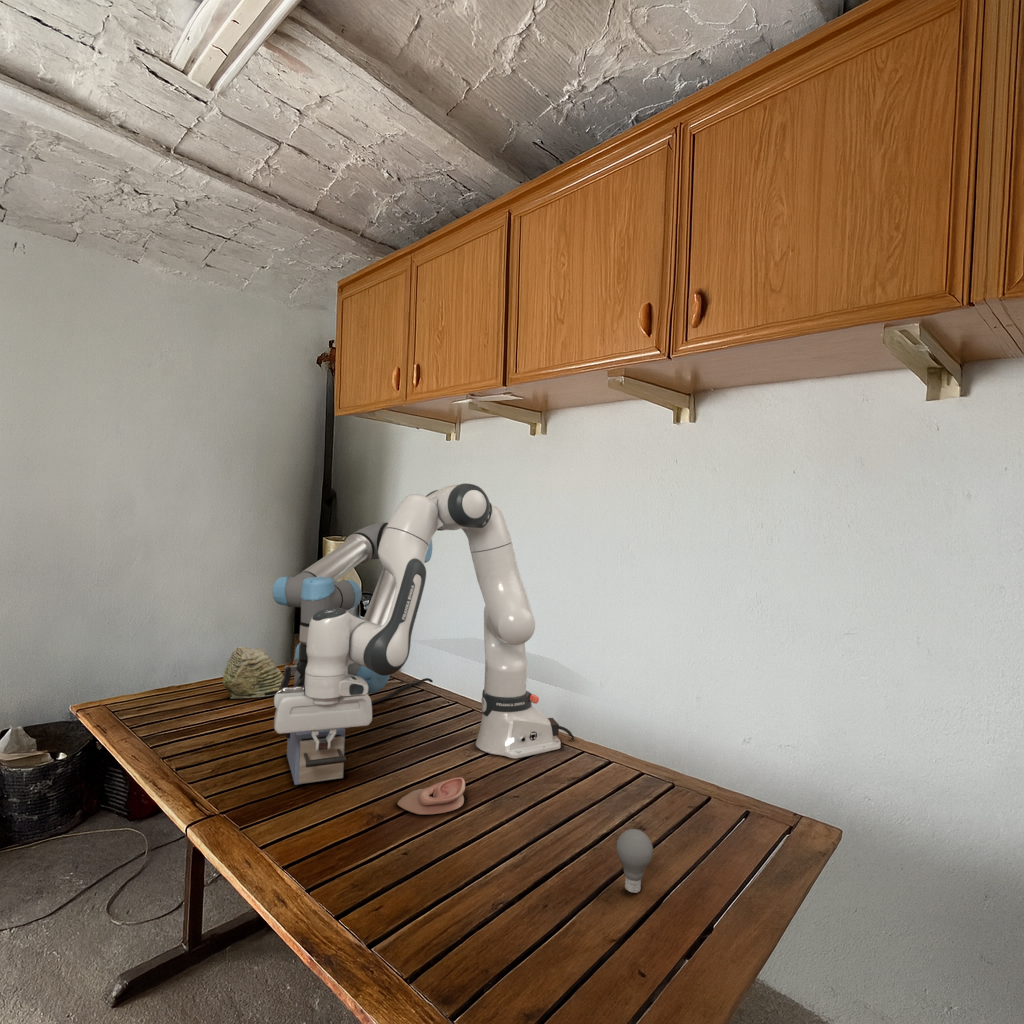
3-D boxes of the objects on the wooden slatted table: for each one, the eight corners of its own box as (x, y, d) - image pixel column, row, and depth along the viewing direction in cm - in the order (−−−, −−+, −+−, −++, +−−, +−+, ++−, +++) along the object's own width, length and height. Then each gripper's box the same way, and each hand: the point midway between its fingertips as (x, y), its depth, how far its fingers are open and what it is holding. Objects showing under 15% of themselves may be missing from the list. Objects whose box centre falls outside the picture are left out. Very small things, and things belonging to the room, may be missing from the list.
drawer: (347, 789, 135) (349, 747, 135) (302, 796, 132) (303, 753, 131) (330, 751, 155) (332, 714, 155) (291, 756, 151) (292, 718, 151)
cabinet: (343, 778, 143) (345, 729, 143) (294, 785, 139) (296, 735, 138) (330, 749, 158) (332, 705, 158) (286, 755, 154) (288, 710, 154)
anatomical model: (392, 791, 129) (412, 768, 140) (391, 810, 129) (411, 786, 140) (454, 800, 126) (470, 776, 137) (454, 820, 126) (469, 794, 137)
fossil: (218, 695, 195) (220, 647, 195) (278, 685, 208) (279, 640, 207) (228, 703, 189) (230, 653, 188) (289, 692, 201) (290, 645, 201)
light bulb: (610, 879, 108) (613, 822, 108) (644, 879, 109) (647, 822, 109) (619, 902, 102) (622, 840, 102) (655, 901, 103) (658, 840, 103)
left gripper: (265, 648, 144) (262, 745, 144) (367, 642, 153) (363, 733, 154) (263, 641, 150) (260, 733, 151) (360, 636, 160) (357, 723, 161)
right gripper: (275, 692, 129) (271, 760, 129) (375, 686, 137) (372, 749, 137) (273, 683, 134) (269, 748, 135) (369, 677, 143) (366, 738, 143)
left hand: (312, 733), depth 152 cm, fingers closed on cabinet, 10 cm apart
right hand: (322, 748), depth 136 cm, fingers closed
